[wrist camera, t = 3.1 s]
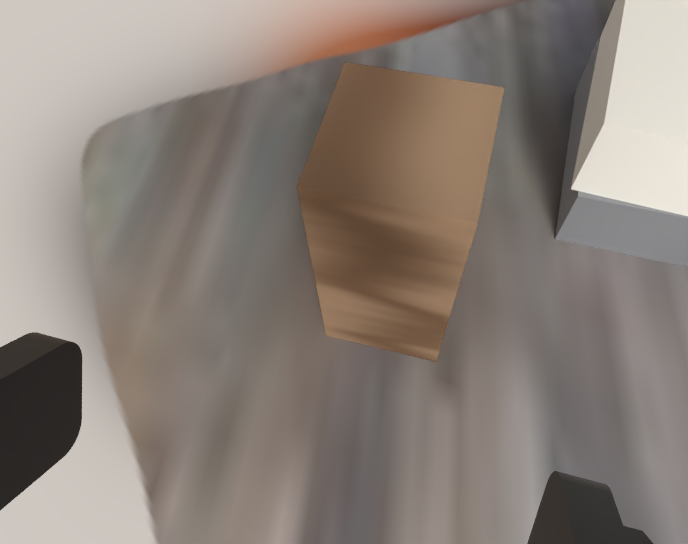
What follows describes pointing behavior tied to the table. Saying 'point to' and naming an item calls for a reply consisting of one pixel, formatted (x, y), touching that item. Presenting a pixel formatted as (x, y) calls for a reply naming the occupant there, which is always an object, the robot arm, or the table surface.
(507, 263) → the table surface
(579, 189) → the tower top slab
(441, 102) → the walnut block
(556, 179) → the table surface
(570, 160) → the tower base slab
